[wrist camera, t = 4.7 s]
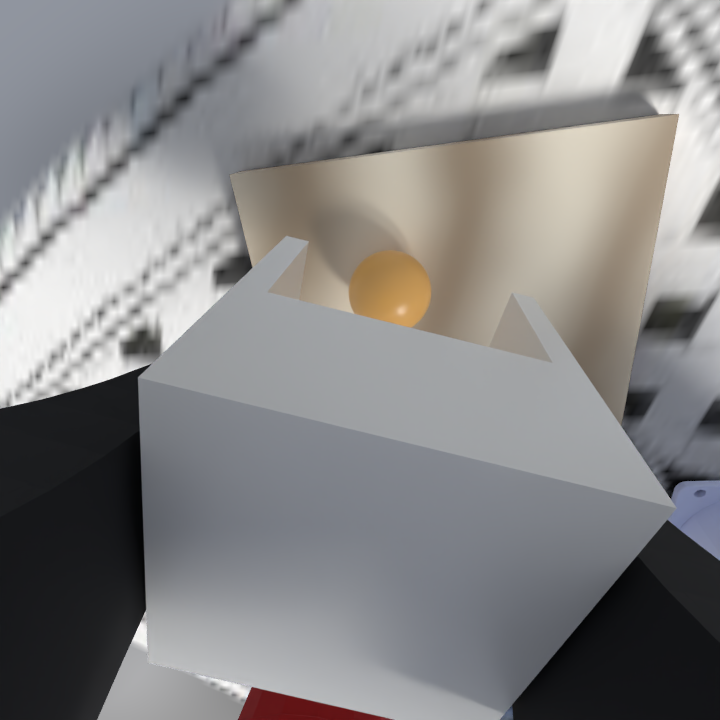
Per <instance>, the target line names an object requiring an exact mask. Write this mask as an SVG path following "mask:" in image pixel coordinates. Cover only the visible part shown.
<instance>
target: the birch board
mask: <svg viewBox="0 0 720 720" xmlns="http://www.w3.org/2000/svg"><path fill="white" fill-rule="evenodd" d="M678 117H679V114H659V115H652V116H645V117H637V118H630V119H622V120H615V121H608V122H600V123H593V124H586V125H578V126H571V127H563V128H556V129H549V130H541V131H534V132H527V133H519V134H512V135H504V136H497V137H490V138H482V139H475V140H468V141H460V142H453V143H446V144H438V145H431V146H423V147H416V148H409V149H401V150H394V151H387V152H379V153H372V154H364V155H357V156H350V157H342V158H335V159H328V160H320V161H313V162H306V163H298V164H291V165H283V166H276V167H269V168H261V169H254V170H247V171H240V172H237V173H234V174H231V175H230V179H231V183H232V187H233V191H234V195H235V199H236V203H237V207H238V211H239V215H240V219H241V224H242V228H243V232H244V236H245V240H246V244H247V248H248V252H249V256H250V260H251V264H252V268H253V267H254V266H255V265H256V264H257V263H258V262H259V261H261V260H262V259H263V258H264V257H265V256H266V255H267V254H268V253H269V252H270V251H271V250H272V249H273V248H274V247H275V246H276V245H277V244H278V243H279V242H280V241H282V240H283V239H284V238H285V237H286V236H289V237H293V238H297V239H301V240H305V241H309V243H308V249H307V255H306V261H305V267H304V273H303V279H302V285H301V292H300V298H299V300H301V301H305V302H309V303H313V304H317V305H321V306H325V307H329V308H333V309H337V310H341V311H345V312H349V313H353V314H354V312H353V310H352V308H351V305H350V301H349V284H350V280H351V277H352V275H353V273H354V271H355V269H356V268H357V266H358V265H359V264H360V263H361V262H362V261H363V260H364V259H366V258H367V257H369V256H370V255H372V254H374V253H377V252H380V251H385V250H395V251H400V252H404V253H406V254H409V255H410V256H412V257H414V258H415V259H416V260H417V261H418V262H419V263H421V265H422V266H423V267H424V269H425V270H426V272H427V274H428V277H429V280H430V283H431V300H430V304H429V307H428V309H427V311H426V313H425V314H424V316H423V317H422V319H421V320H420V321H419V322H418V323H417V324H415V325H414V326H413V327H411V328H414V329H418V330H422V331H426V332H430V333H434V334H438V335H442V336H446V337H450V338H454V339H458V340H462V341H466V342H470V343H474V344H478V345H482V346H486V347H489V346H490V343H491V341H492V339H493V336H494V334H495V332H496V329H497V327H498V324H499V322H500V320H501V317H502V315H503V313H504V310H505V308H506V305H507V303H508V301H509V298H510V296H511V294H512V292H513V293H517V294H521V295H525V296H529V297H533V298H534V299H535V300H536V302H537V303H538V305H539V306H540V308H541V309H542V311H543V312H544V313H545V315H546V316H547V318H548V319H549V321H550V322H551V324H552V325H553V327H554V328H555V330H556V331H557V333H558V334H559V336H560V337H561V339H562V340H563V341H564V343H565V344H566V346H567V347H568V349H569V350H570V352H571V353H572V355H573V356H574V358H575V359H576V361H577V362H578V364H579V365H580V366H581V368H582V369H583V371H584V372H585V374H586V375H587V377H588V378H589V380H590V381H591V383H592V384H593V386H594V387H595V389H596V390H597V391H598V393H599V394H600V396H601V397H602V399H603V400H604V402H605V403H606V405H607V406H608V408H609V409H610V411H611V412H612V414H613V415H614V416H615V418H616V419H617V421H618V422H619V424H620V425H622V420H623V414H624V409H625V403H626V398H627V393H628V387H629V382H630V376H631V371H632V366H633V360H634V355H635V349H636V344H637V339H638V333H639V328H640V322H641V317H642V312H643V306H644V301H645V295H646V290H647V285H648V279H649V274H650V268H651V263H652V258H653V252H654V247H655V241H656V236H657V231H658V225H659V220H660V214H661V209H662V204H663V198H664V193H665V188H666V182H667V177H668V171H669V166H670V161H671V155H672V150H673V144H674V139H675V134H676V128H677V123H678Z"/></svg>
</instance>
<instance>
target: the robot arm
mask: <svg viewBox="0 0 720 720" xmlns="http://www.w3.org/2000/svg"><path fill="white" fill-rule="evenodd" d="M150 365H151V364H150ZM150 365H147V366H145V367H142V368H139V369H137V370H134V371H131V372H129V373H126V374H123V375H121V376H118V377H116V378H113V379H110V380H107V381H104V382H101V383H98V384H95V385H91V386H88V387H85V388H82V389H78V390H75V391H71V392H68V393H64V394H61V395H57V396H53V397H50V398H46V399H42V400H38V401H34V402H29V403H24V404H20V405H15V406H11V407H6V408H2V409H0V720H97V718H98V716H99V714H100V712H101V709H102V707H103V705H104V702H105V700H106V698H107V696H108V693H109V691H110V689H111V686H112V684H113V682H114V679H115V677H116V675H117V673H118V670H119V668H120V666H121V663H122V661H123V659H124V657H125V655H126V652H127V650H128V648H129V646H130V644H131V642H132V639H133V637H134V635H135V633H136V631H137V628H138V626H139V624H140V622H141V620H142V617H143V615H144V613H145V611H146V589H145V561H144V533H143V505H142V477H141V449H140V421H139V393H138V377H139V376H140V375H141V374H142V373H143V372H144V371H145V370H146V369H147V368H148V367H149V366H150ZM671 500H672V502H673V503H674V505H675V506H676V508H677V509H676V510H675V511H674V512H673V513H672V515H671V516H670V517H669V518H668V519H667V521H666V522H665V523H664V524H663V525H662V527H661V528H660V529H659V530H658V531H657V532H656V534H655V535H654V536H653V537H652V538H651V540H650V541H649V542H648V543H647V544H646V546H645V547H644V548H643V549H642V550H641V552H640V553H639V554H638V555H637V556H636V558H635V559H634V560H633V561H632V562H631V564H630V565H629V566H628V567H627V568H626V569H625V571H624V572H623V573H622V574H621V575H620V577H619V578H618V579H617V580H616V581H615V583H614V584H613V585H612V586H611V587H610V589H609V590H608V591H607V592H606V593H605V595H604V596H603V597H602V598H601V599H600V600H599V602H598V603H597V604H596V605H595V606H594V608H593V609H592V610H591V611H590V612H589V614H588V615H587V616H586V617H585V618H584V620H583V621H582V622H581V623H580V624H579V626H578V627H577V628H576V629H575V630H574V631H573V633H572V634H571V635H570V636H569V637H568V639H567V640H566V641H565V642H564V643H563V645H562V646H561V647H560V648H559V649H558V651H557V652H556V653H555V654H554V655H553V657H552V658H551V659H550V660H549V661H548V662H547V664H546V665H545V666H544V667H543V668H542V670H541V671H540V672H539V673H538V674H537V676H536V677H535V678H534V679H533V680H532V682H531V683H530V684H529V685H528V686H527V688H526V689H525V690H524V691H523V692H522V694H521V695H520V696H519V697H518V698H517V699H516V701H515V702H514V703H513V704H512V707H513V720H720V480H717V481H684V482H681V483H679V484H677V485H676V486H675V488H674V491H673V495H672V498H671Z"/></svg>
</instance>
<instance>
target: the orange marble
mask: <svg viewBox="0 0 720 720" xmlns="http://www.w3.org/2000/svg"><path fill="white" fill-rule="evenodd" d="M430 300H431V283H430V280H429V277H428V274H427V272H426V270H425V269H424V267H423V266H422V265H421V263H419V262H418V261H417V260H416V259H415V258H414V257H412V256H410V255H409V254H406V253H404V252H400V251H395V250H385V251H380V252H377V253H374V254H372V255H370V256H369V257H367V258H366V259H364V260H363V261H362V262H361V263H360V264H359V265H358V266H357V268H356V269H355V271H354V273H353V275H352V277H351V280H350V284H349V301H350V305H351V308H352V310H353V312H354V314H357V315H361V316H365V317H369V318H373V319H377V320H381V321H385V322H390V323H394V324H398V325H402V326H406V327H410V328H411V327H413V326H414V325H415V324H417V323H418V322H419V321H420V320H421V319H422V317H423V316H424V314H425V313H426V311H427V309H428V307H429V304H430Z"/></svg>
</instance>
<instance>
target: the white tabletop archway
mask: <svg viewBox="0 0 720 720" xmlns="http://www.w3.org/2000/svg"><path fill="white" fill-rule="evenodd" d="M308 243H309V241H305V240H301V239H297V238H293V237H289V236H286V237H285V238H284V239H283V240H282V241H280V242H279V243H278V244H277V245H276V246H275V247H274V248H273V249H272V250H271V251H270V252H269V253H268V254H267V255H266V256H265V257H264V258H263V259H262V260H261V261H259V262H258V263H257V264H256V265H255V266H254V267H253V268H252V269H251V270H250V271H249V272H248V273H247V274H246V275H245V276H244V277H243V278H242V279H241V280H240V281H239V282H237V283H236V284H235V285H234V286H233V287H232V288H231V289H230V290H229V291H228V292H227V293H226V294H225V295H224V296H223V297H222V298H221V299H220V300H219V301H218V302H216V303H215V304H214V305H213V306H212V307H211V308H210V309H209V310H208V311H207V312H206V313H205V314H204V315H203V316H202V317H201V318H200V319H199V320H198V321H197V322H196V323H194V324H193V325H192V326H191V327H190V328H189V329H188V330H187V331H186V332H185V333H184V334H183V335H182V336H181V337H180V338H179V339H178V340H177V341H176V342H175V343H173V344H172V345H171V346H170V347H169V348H168V349H167V350H166V351H165V352H164V353H163V354H162V355H161V356H160V357H159V358H158V359H157V360H156V361H155V362H154V363H153V364H151V365H150V366H149V367H148V368H147V369H146V370H145V371H144V372H143V373H142V374H141V375H140V376H139V377H138V393H139V421H140V449H141V477H142V505H143V533H144V561H145V589H146V617H147V645H148V663H150V664H155V665H159V666H163V667H168V668H172V669H176V670H181V671H185V672H189V673H194V674H198V675H202V676H207V677H211V678H215V679H220V680H224V681H228V682H233V683H237V684H241V685H246V686H250V687H254V688H259V689H263V690H268V691H272V692H276V693H281V694H285V695H289V696H294V697H298V698H302V699H307V700H311V701H315V702H320V703H324V704H328V705H333V706H337V707H341V708H346V709H350V710H354V711H359V712H363V713H368V714H372V715H376V716H381V717H385V718H389V719H394V720H500V719H501V717H502V716H503V715H504V714H505V713H506V711H507V710H508V709H509V708H510V707H511V705H512V704H513V703H514V702H515V701H516V699H517V698H518V697H519V696H520V695H521V694H522V692H523V691H524V690H525V689H526V688H527V686H528V685H529V684H530V683H531V682H532V680H533V679H534V678H535V677H536V676H537V674H538V673H539V672H540V671H541V670H542V668H543V667H544V666H545V665H546V664H547V662H548V661H549V660H550V659H551V658H552V657H553V655H554V654H555V653H556V652H557V651H558V649H559V648H560V647H561V646H562V645H563V643H564V642H565V641H566V640H567V639H568V637H569V636H570V635H571V634H572V633H573V631H574V630H575V629H576V628H577V627H578V626H579V624H580V623H581V622H582V621H583V620H584V618H585V617H586V616H587V615H588V614H589V612H590V611H591V610H592V609H593V608H594V606H595V605H596V604H597V603H598V602H599V600H600V599H601V598H602V597H603V596H604V595H605V593H606V592H607V591H608V590H609V589H610V587H611V586H612V585H613V584H614V583H615V581H616V580H617V579H618V578H619V577H620V575H621V574H622V573H623V572H624V571H625V569H626V568H627V567H628V566H629V565H630V564H631V562H632V561H633V560H634V559H635V558H636V556H637V555H638V554H639V553H640V552H641V550H642V549H643V548H644V547H645V546H646V544H647V543H648V542H649V541H650V540H651V538H652V537H653V536H654V535H655V534H656V532H657V531H658V530H659V529H660V528H661V527H662V525H663V524H664V523H665V522H666V521H667V519H668V518H669V517H670V516H671V515H672V513H673V512H674V511H675V510H676V509H677V508H676V506H675V505H674V503H673V502H672V500H671V499H670V497H669V496H668V494H667V493H666V491H665V490H664V489H663V487H662V486H661V484H660V483H659V481H658V480H657V478H656V477H655V475H654V474H653V472H652V471H651V469H650V468H649V466H648V465H647V464H646V462H645V461H644V459H643V458H642V456H641V455H640V453H639V452H638V450H637V449H636V447H635V446H634V444H633V443H632V441H631V440H630V439H629V437H628V436H627V434H626V433H625V431H624V430H623V428H622V427H621V425H620V424H619V422H618V421H617V419H616V418H615V416H614V415H613V414H612V412H611V411H610V409H609V408H608V406H607V405H606V403H605V402H604V400H603V399H602V397H601V396H600V394H599V393H598V391H597V390H596V389H595V387H594V386H593V384H592V383H591V381H590V380H589V378H588V377H587V375H586V374H585V372H584V371H583V369H582V368H581V366H580V365H579V364H578V362H577V361H576V359H575V358H574V356H573V355H572V353H571V352H570V350H569V349H568V347H567V346H566V344H565V343H564V341H563V340H562V339H561V337H560V336H559V334H558V333H557V331H556V330H555V328H554V327H553V325H552V324H551V322H550V321H549V319H548V318H547V316H546V315H545V313H544V312H543V311H542V309H541V308H540V306H539V305H538V303H537V302H536V300H535V299H534V298H533V297H529V296H525V295H521V294H517V293H513V292H512V294H511V296H510V298H509V301H508V303H507V305H506V308H505V310H504V313H503V315H502V317H501V320H500V322H499V324H498V327H497V329H496V332H495V334H494V336H493V339H492V341H491V343H490V346H489V347H486V346H482V345H478V344H474V343H470V342H466V341H462V340H458V339H454V338H450V337H446V336H442V335H438V334H434V333H430V332H426V331H422V330H418V329H414V328H410V327H406V326H402V325H398V324H394V323H390V322H385V321H381V320H377V319H373V318H369V317H365V316H361V315H357V314H353V313H349V312H345V311H341V310H337V309H333V308H329V307H325V306H321V305H317V304H313V303H309V302H305V301H301V300H299V298H300V292H301V285H302V279H303V273H304V267H305V261H306V255H307V249H308Z"/></svg>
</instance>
